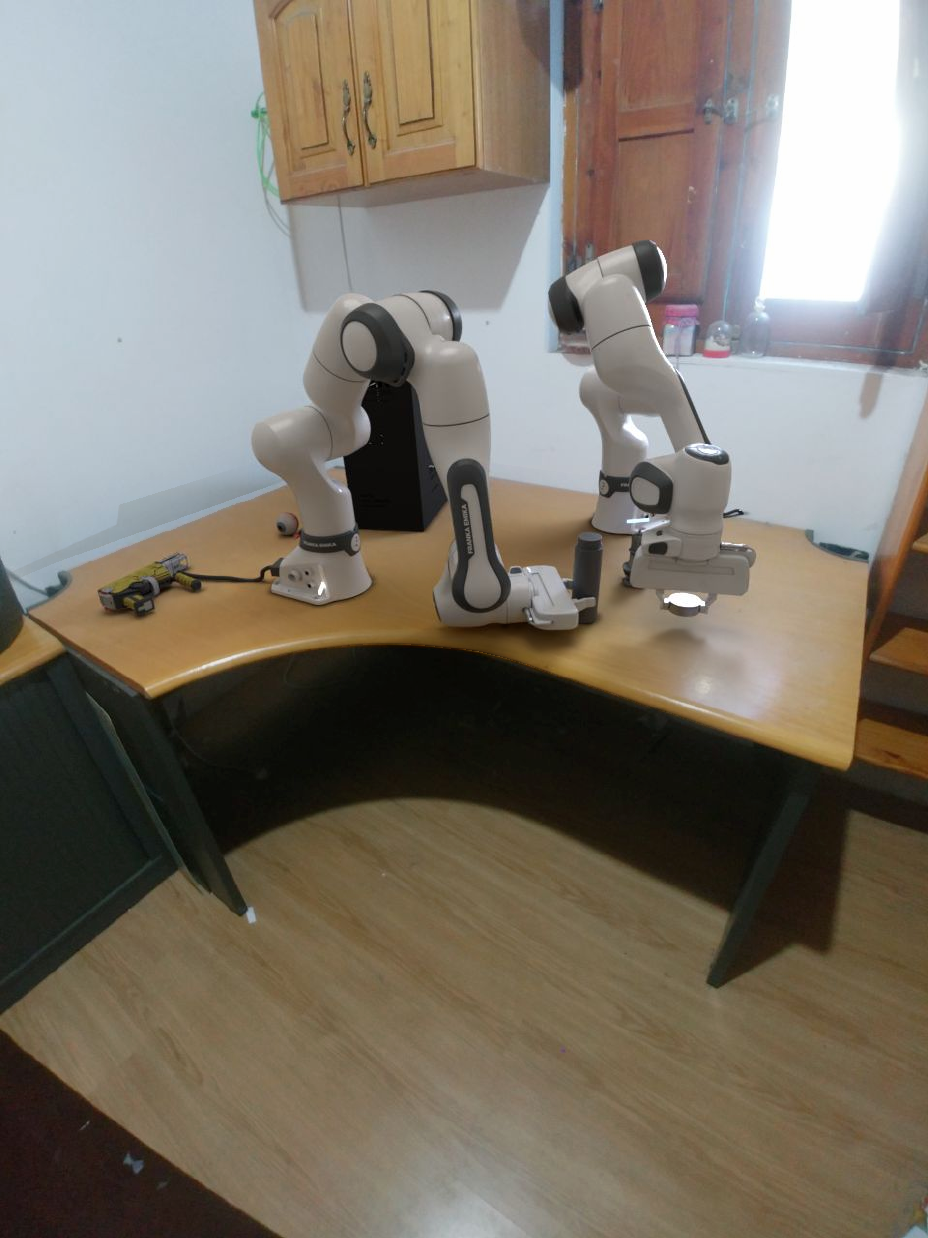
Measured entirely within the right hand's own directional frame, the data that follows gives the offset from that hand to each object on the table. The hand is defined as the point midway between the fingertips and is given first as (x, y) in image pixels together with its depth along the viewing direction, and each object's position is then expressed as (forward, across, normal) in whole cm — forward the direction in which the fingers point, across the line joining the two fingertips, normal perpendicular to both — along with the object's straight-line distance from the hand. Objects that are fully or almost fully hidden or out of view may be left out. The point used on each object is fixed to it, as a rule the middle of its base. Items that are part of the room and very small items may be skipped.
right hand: (682, 610), depth 112 cm
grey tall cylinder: (+3, +18, 0) cm, 18 cm away
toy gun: (+4, +112, +7) cm, 112 cm away
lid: (-2, 0, 0) cm, 2 cm away
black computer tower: (+3, +76, -56) cm, 94 cm away
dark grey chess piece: (+3, +9, -17) cm, 19 cm away
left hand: (-2, +17, 0) cm, 17 cm away
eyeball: (+4, +101, -30) cm, 106 cm away
